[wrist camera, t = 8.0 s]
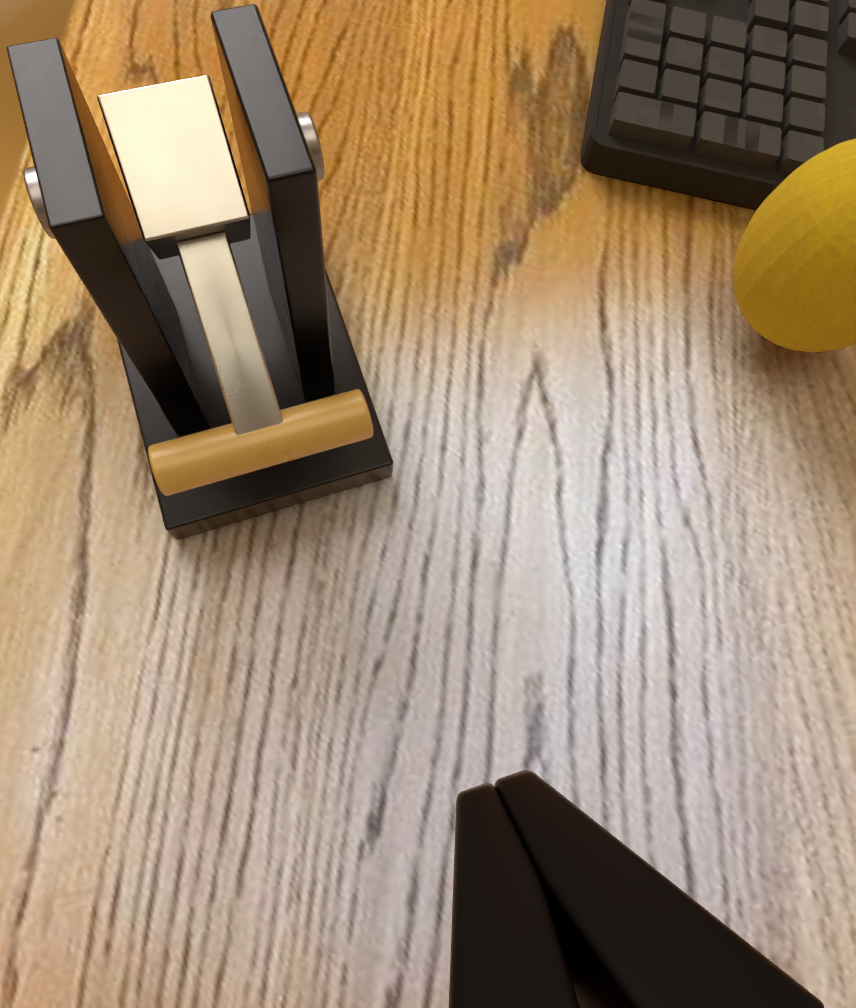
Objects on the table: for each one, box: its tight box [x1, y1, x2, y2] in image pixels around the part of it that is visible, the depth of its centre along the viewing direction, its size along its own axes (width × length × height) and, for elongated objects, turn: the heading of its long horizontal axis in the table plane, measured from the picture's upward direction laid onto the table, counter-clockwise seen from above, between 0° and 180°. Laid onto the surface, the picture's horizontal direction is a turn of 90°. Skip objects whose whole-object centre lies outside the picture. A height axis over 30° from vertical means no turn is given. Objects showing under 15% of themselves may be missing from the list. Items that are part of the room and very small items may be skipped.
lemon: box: [733, 139, 856, 352], centre depth 23 cm, size 6×6×8 cm
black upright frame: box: [7, 4, 393, 539], centre depth 19 cm, size 10×7×11 cm
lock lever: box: [98, 75, 373, 496], centre depth 17 cm, size 8×5×2 cm, turn 19°
